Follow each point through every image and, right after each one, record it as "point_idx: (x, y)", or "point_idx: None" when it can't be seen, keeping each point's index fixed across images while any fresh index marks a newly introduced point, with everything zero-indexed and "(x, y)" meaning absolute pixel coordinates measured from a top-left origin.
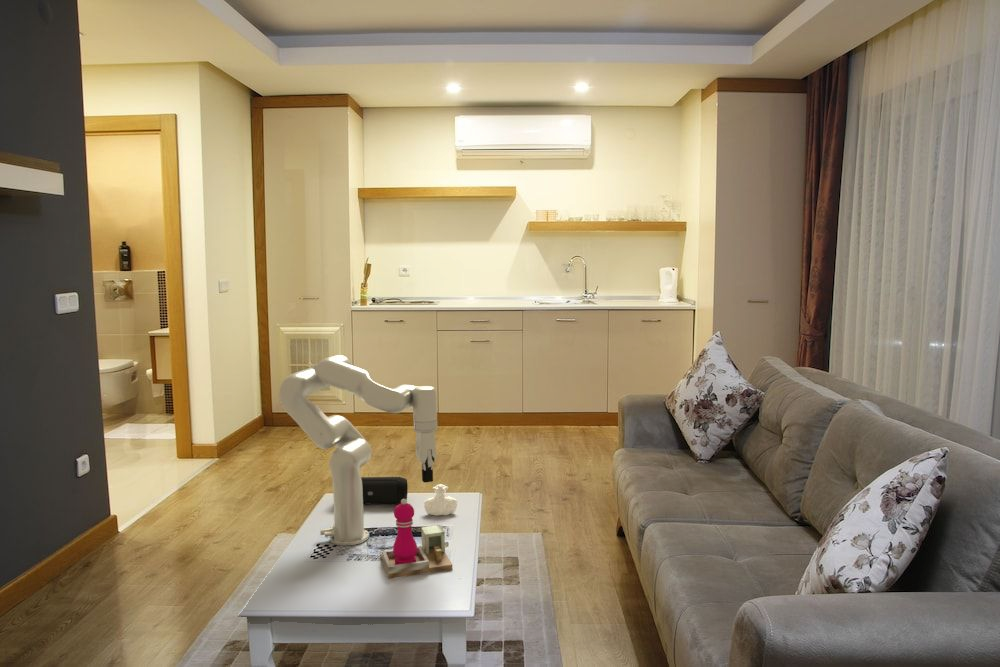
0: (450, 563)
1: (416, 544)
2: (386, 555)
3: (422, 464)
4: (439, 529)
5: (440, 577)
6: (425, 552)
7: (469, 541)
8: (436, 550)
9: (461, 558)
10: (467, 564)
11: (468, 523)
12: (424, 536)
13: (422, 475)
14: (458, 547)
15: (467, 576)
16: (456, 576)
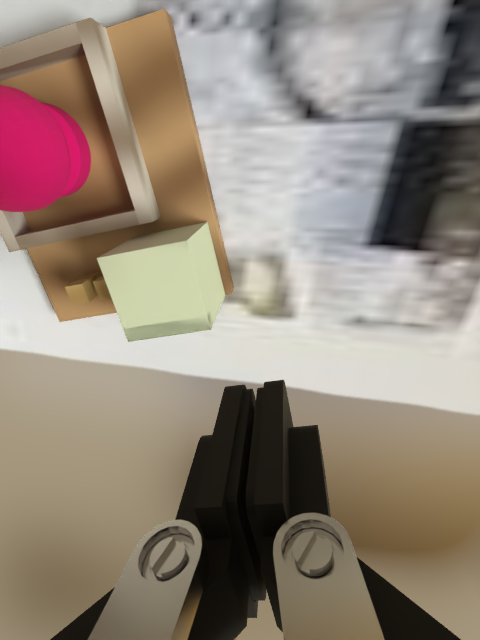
0: (67, 316)
1: (13, 211)
2: (42, 50)
3: (283, 618)
4: (156, 323)
5: (10, 275)
6: (138, 236)
7: None
8: (72, 286)
9: (148, 347)
10: (106, 359)
11: (454, 400)
12: (125, 249)
13: (262, 429)
14: (236, 347)
15: (28, 350)
16: (23, 322)
